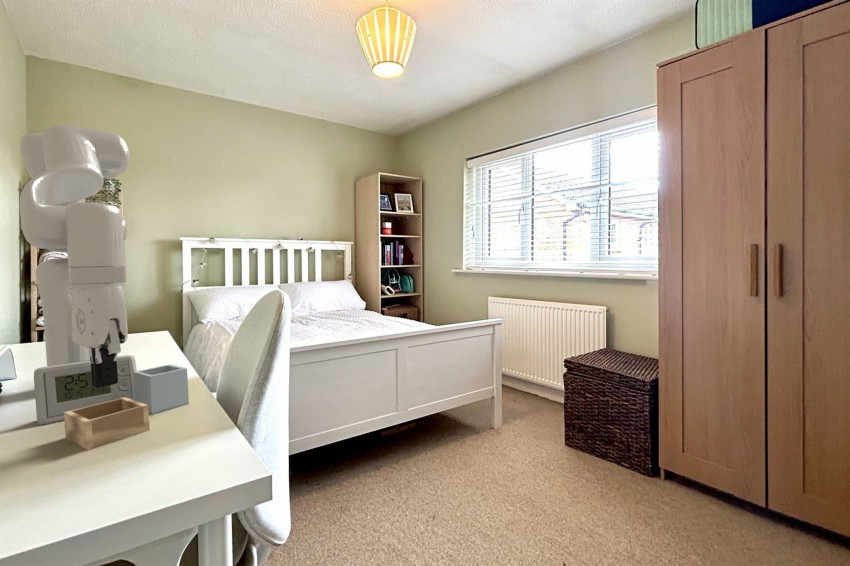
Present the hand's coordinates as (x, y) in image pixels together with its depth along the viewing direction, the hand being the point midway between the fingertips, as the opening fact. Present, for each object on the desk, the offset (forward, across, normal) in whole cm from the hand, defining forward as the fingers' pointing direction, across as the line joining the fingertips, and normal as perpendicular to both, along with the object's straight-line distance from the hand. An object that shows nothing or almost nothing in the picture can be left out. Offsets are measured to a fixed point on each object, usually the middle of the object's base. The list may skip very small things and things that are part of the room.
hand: (105, 384), depth 72 cm
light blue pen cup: (+9, -7, +12) cm, 17 cm away
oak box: (+9, 0, 0) cm, 9 cm away
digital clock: (+9, -17, +3) cm, 19 cm away
